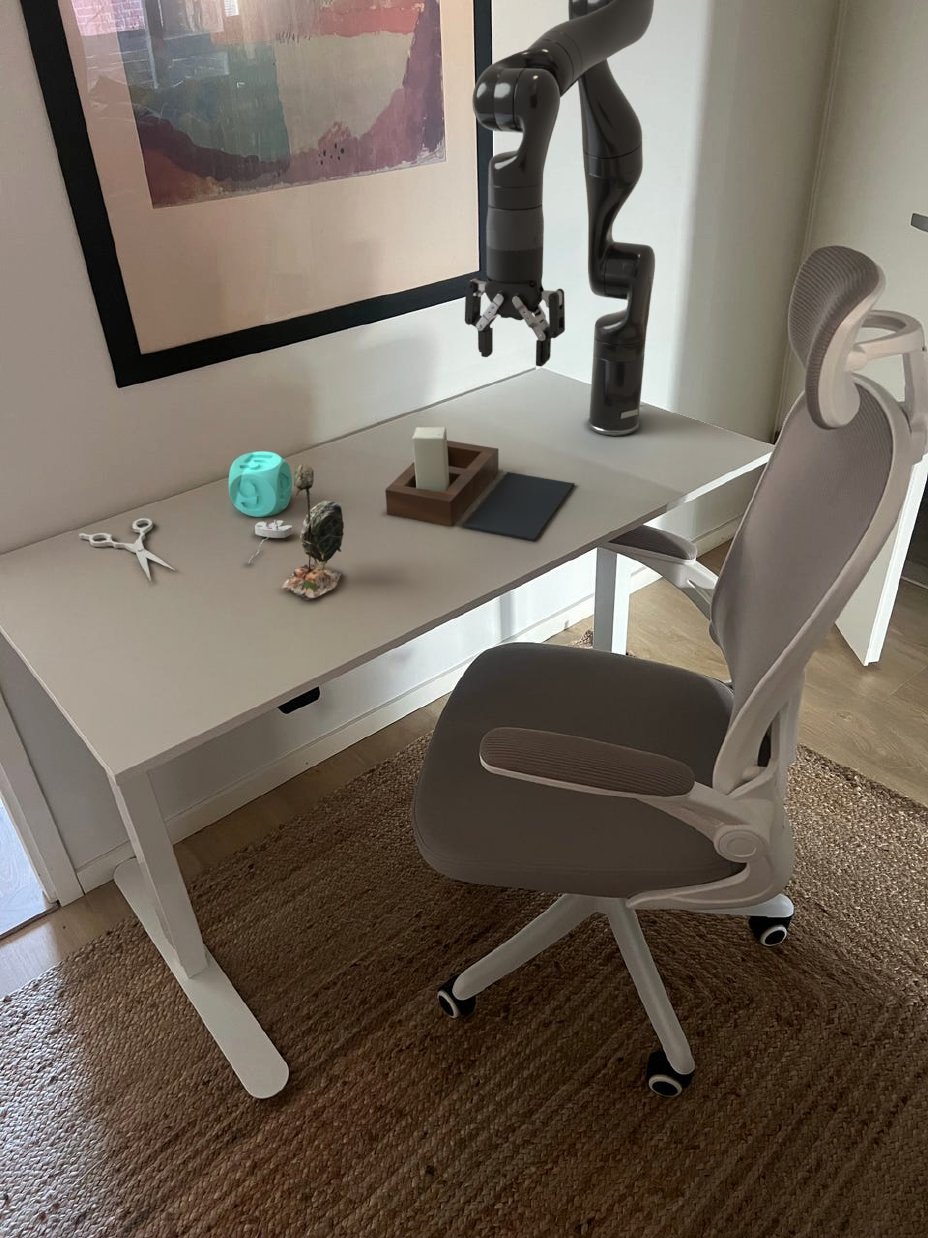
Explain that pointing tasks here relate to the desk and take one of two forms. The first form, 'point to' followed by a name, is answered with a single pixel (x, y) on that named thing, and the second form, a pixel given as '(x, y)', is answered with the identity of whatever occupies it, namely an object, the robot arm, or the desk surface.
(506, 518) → the mat
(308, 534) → the plant with pod
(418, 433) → the box
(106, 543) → the scissors
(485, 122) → the robot arm
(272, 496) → the decorative dice
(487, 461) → the rack
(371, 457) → the desk surface
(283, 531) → the game controller
